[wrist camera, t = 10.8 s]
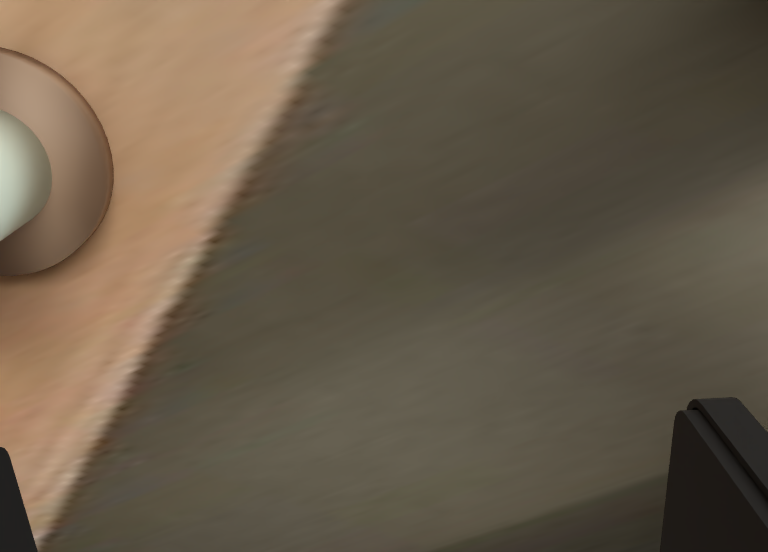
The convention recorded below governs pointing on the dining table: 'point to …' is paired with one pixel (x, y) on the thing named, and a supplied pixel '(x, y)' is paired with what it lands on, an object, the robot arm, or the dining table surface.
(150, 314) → the dining table surface
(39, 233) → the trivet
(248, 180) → the dining table surface
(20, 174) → the pale green rounded cylinder
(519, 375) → the dining table surface
